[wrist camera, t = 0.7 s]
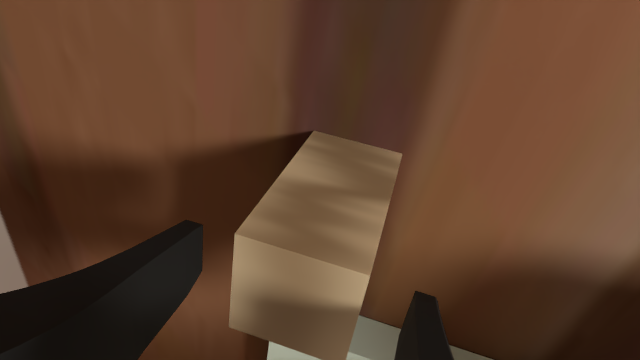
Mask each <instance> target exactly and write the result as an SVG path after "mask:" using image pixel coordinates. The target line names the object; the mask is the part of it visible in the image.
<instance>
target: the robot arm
mask: <svg viewBox="0 0 640 360" xmlns="http://www.w3.org/2000/svg"><path fill="white" fill-rule="evenodd" d="M202 250H203V225H202V224H199V223H195V222H192V221H189V220H185V221H183V222H181V223H179V224H177V225H175V226H173V227H171V228H169V229H167V230H166V231H164V232H162V233H160V234H158V235H156V236H154V237H152V238H150V239H148V240H146V241H144V242H142V243H140V244H138V245H136V246H134V247H132V248H130V249H128V250H126V251H124V252H122V253H119V254H117V255H115V256H113V257H111V258H108V259H106V260H104V261H102V262H100V263H97V264H95V265H92V266H90V267H87V268H85V269H82V270H79V271H76V272H74V273H71V274H68V275H65V276H62V277H59V278H56V279H53V280H49V281H46V282H43V283H40V284H36V285H33V286H30V287H26V288H22V289H19V290H14V291H10V292H7V293H2V294H0V360H137V359H138V358H139V357H140V355H141V354H142V353H143V351H144V350H145V348H146V347H147V346H148V345H149V343H150V342H151V341H152V340H153V338H154V337H155V336H156V335H157V333H158V332H159V331H160V330H161V328H162V327H163V326H164V325H165V323H166V322H167V321H168V319H169V318H170V317H171V316H172V314H173V313H174V312H175V311H176V309H177V308H178V307H179V305H180V304H181V303H182V302H183V300H184V299H185V298H186V296H187V295H188V293H189V292H190V290H191V288H192V287H193V285H194V284H195V282H196V280H197V278H198V277H199V275H200V273H201V271H202ZM394 360H454V358H453V355H452V352H451V349H450V346H449V343H448V340H447V337H446V333H445V330H444V326H443V323H442V319H441V315H440V310H439V306H438V301H437V299H436V297H434V296H431V295H427V294H424V293H421V292H418V291H415V293H414V296H413V299H412V301H411V304H410V307H409V309H408V312H407V315H406V318H405V320H404V323H403V326H402V328H401V331H400V334H399V338H398V343H397V348H396V353H395V359H394Z"/></svg>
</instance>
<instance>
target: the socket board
mask: <svg viewBox="0 0 640 360" xmlns="http://www.w3.org/2000/svg"><path fill="white" fill-rule="evenodd" d="M400 331H401V329H399V328H396V327H393V326H390V325H387V324H384V323H381V322H378V321H375V320H372V319H369V318H366V317H363V316H360V315H359V316H358V320H357V323H356V327H355V330H354V334H353V337H352V340H351V344H350V347H349V351H348V354H347V358H346V360H394V359H395V353H396V348H397V343H398V338H399V334H400ZM449 346H450V349H451V352H452V355H453V358H454V360H493V359H490V358H487V357H484V356H481V355H478V354H475V353H472V352H469V351H466V350H463V349H460V348H457V347H454V346H451V345H449ZM267 360H321V359H319V358H316V357H313V356H310V355H307V354H304V353H301V352H299V351H296V350H293V349H290V348H287V347H284V346H281V345H279V344H276V343H273V342H270V341H269V348H268V355H267Z"/></svg>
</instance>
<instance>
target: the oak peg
mask: <svg viewBox="0 0 640 360" xmlns="http://www.w3.org/2000/svg"><path fill="white" fill-rule="evenodd" d="M401 158H402V154H401V153H397V152H393V151H390V150H386V149H382V148H378V147H374V146H370V145H367V144H363V143H359V142H355V141H351V140H348V139H344V138H340V137H336V136H332V135H329V134H325V133H321V132H317V131H313V132H312V134H311V135H310V136H309V138H308V139H307V140H306V142H305V143H304V144H303V145H302V147H301V148H300V149H299V151H298V152H297V153H296V155H295V156H294V157H293V158H292V160H291V161H290V162H289V164H288V165H287V166H286V168H285V169H284V170H283V172H282V173H281V174H280V175H279V177H278V178H277V179H276V181H275V182H274V183H273V185H272V186H271V187H270V188H269V190H268V191H267V192H266V194H265V195H264V196H263V198H262V199H261V200H260V201H259V203H258V204H257V205H256V207H255V208H254V209H253V211H252V212H251V213H250V214H249V216H248V217H247V218H246V220H245V221H244V222H243V224H242V225H241V226H240V227H239V229H238V230H237V231H236V233H235V237H234V253H233V269H232V285H231V300H230V316H229V327H230V328H233V329H236V330H239V331H241V332H244V333H247V334H250V335H253V336H256V337H259V338H261V339H264V340H267V341H270V342H273V343H276V344H279V345H281V346H284V347H287V348H290V349H293V350H296V351H299V352H301V353H304V354H307V355H310V356H313V357H316V358H319V359H321V360H346V358H347V354H348V351H349V347H350V344H351V340H352V337H353V334H354V330H355V327H356V323H357V320H358V316H359V313H360V309H361V306H362V303H363V299H364V296H365V292H366V289H367V285H368V282H369V278H370V275H371V271H372V267H373V263H374V260H375V256H376V252H377V248H378V245H379V241H380V237H381V233H382V230H383V226H384V222H385V218H386V214H387V211H388V207H389V203H390V199H391V196H392V192H393V188H394V184H395V180H396V177H397V173H398V169H399V165H400V162H401Z"/></svg>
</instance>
